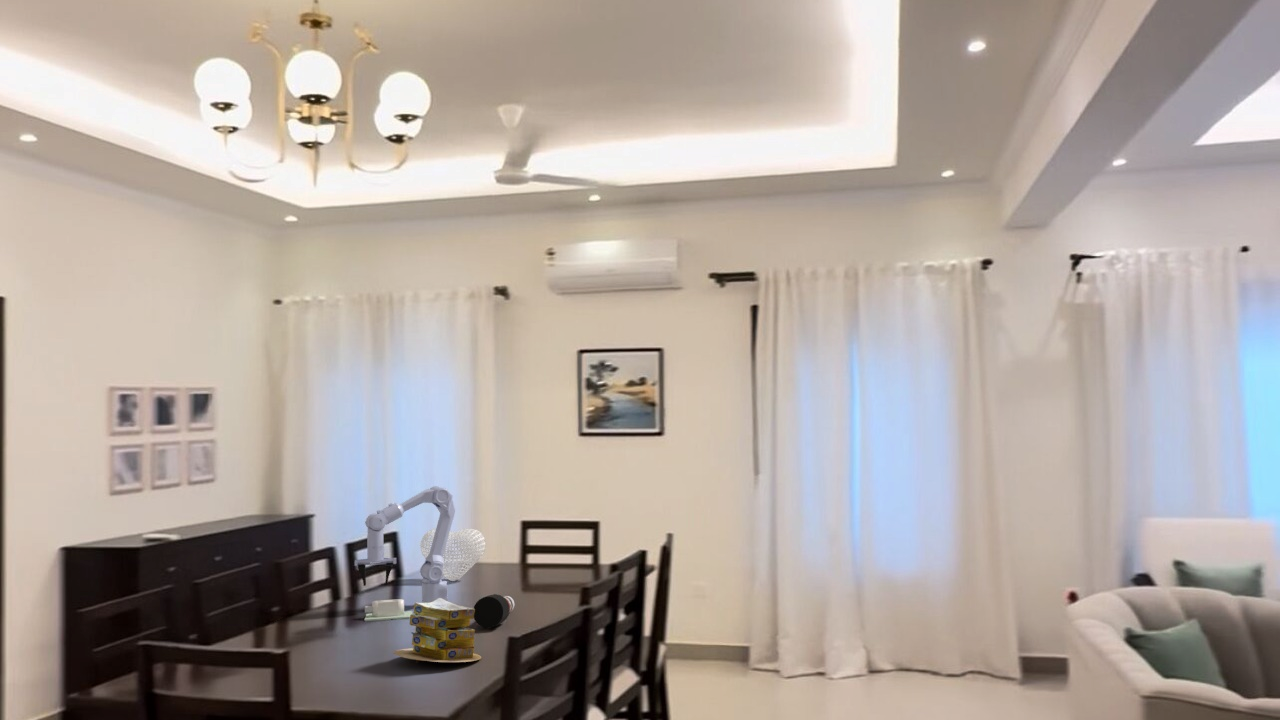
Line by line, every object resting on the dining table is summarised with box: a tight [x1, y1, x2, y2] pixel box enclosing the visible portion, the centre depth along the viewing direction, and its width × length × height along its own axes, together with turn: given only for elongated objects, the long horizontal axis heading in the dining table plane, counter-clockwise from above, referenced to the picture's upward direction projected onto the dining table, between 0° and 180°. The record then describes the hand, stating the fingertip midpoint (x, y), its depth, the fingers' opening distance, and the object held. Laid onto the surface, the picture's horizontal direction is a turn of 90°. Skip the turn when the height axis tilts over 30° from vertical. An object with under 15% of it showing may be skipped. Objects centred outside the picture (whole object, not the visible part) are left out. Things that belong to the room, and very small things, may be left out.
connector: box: [364, 598, 405, 617], centre depth 343 cm, size 13×4×5 cm, turn 102°
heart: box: [420, 528, 487, 582], centre depth 416 cm, size 28×16×22 cm, turn 84°
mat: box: [364, 610, 413, 622], centre depth 343 cm, size 16×10×1 cm, turn 102°
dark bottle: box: [473, 593, 515, 629], centre depth 336 cm, size 10×34×10 cm, turn 173°
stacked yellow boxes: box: [393, 598, 482, 664], centre depth 280 cm, size 25×25×17 cm
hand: (375, 584), depth 352 cm, fingers open, 7 cm apart
